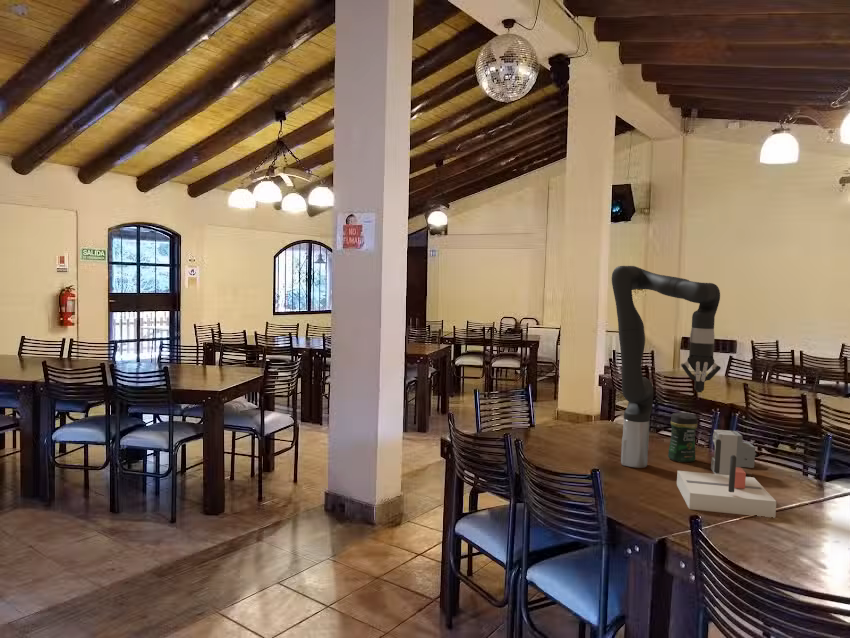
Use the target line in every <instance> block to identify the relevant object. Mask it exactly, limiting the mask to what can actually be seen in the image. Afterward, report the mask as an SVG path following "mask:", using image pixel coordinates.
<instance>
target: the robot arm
mask: <svg viewBox="0 0 850 638" xmlns="http://www.w3.org/2000/svg"><path fill="white" fill-rule="evenodd" d="M611 273H612V274H611V287H612V291H613V296H614V301H615V308H616V316H617V317H616V318H617V324H618V325H617V328H618V329H617V330H618V338H619V339H618V340H619V348H620V349H619V350H620V358H621V392H622V396H623V397H624V399H625V400H626V401H627V402H628V403H627V407H626V409H625V410H624V411H623V421H622V422H623V423H622V424H623V426H622V437H621V452H620V453H621V454H620V463H621V465H622V466H624V467H629V468H636V469H639V468H646V467H648V456H649V455H648V454H649V453H648V451H649V434H650V419H651V418H650V417H651V414H652V411H653V401H654V400H653V399H654V386H653V383H652V382H651V381H650V379H649V378H647V377H645V376H643V372H642V360H643V356H644V351H645V347H646V335H645V323H644V322H643V319H642V317H641V315H640V314H639V312H638V310H637V308H636V306H635V303H634V301H633V292H632V291H635V290H649V291H654V292H657V293H659V294H661V295H663V296H667V297H671V298H675V299H682V300H684V301H687V302H691V303H695V304H699V305H698V309H697V310H695V311H694V312H693V313H692V316H691V330H690V335H689V336H690V337H689V354H688V357H687V360H686V361H685V362H682V363H681V364H680V367H681V368H682V370H684V372H685V373H686V375H687V376H688V377H689V379H691V380H693V381H694V390H695V391H696V393H700V394H701V393H702V392H703V391H704V390H705V383H706V381H711V379H712V378H713V377H714V376H715V375H716V374H717V373H718V372H719V371H720V370H721V369H722V368H721V366H720V365H718V364H717V363H716V362H715V359H714V352H715V351H714V349H715V348H714V346H715V317H716V313H717V311H718V307H719V304H720V301H721V291H720V288H719V287H718V285H717V284H715V283H712V282H698V281H692V280H689V279H686V278H682V277H676V276H670V275H663V274H657V273H654V272H651V271H648V270H646V269H643V268H641V267H639V266H635V265H618V266H617V267H615V268H614V269H613V271H612V272H611ZM690 367H691V369H692V370H693V373H694V374H693V373H692V371H690ZM710 369H711V370H710ZM709 370H710V372H708V373H707V371H709Z"/></svg>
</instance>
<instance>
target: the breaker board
mask: <svg viewBox="0 0 850 638" xmlns="http://www.w3.org/2000/svg"><path fill="white" fill-rule="evenodd" d="M676 471H677V476H676V487H677V488H678V491H679V492H680V494H681V496H682V498H683V500H684V501H685V504H686V506H687V508H688V509H689V510H697V511H703V512H715V513H724V514H732V515H733V514H734V515H743V516H744V515H745V516H752V515H757V516H756V517H761V516H765V517H764V518H771V517H773V519H775V518H776V515H777V514H776V513H777V500H776V499H775V498H774V497H773V496H772V494H770V493H769V492H768V491H767V490H766V489H765V487H764V486H763V485H761V483H760V482H759V481H758V480H757V479H756V478H755V476H753V477H751V476H746V479H745V489H743V488H734V492H729V491H728V489H729V475H721V474H715V473H708V472H698V471H687V470H676Z"/></svg>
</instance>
